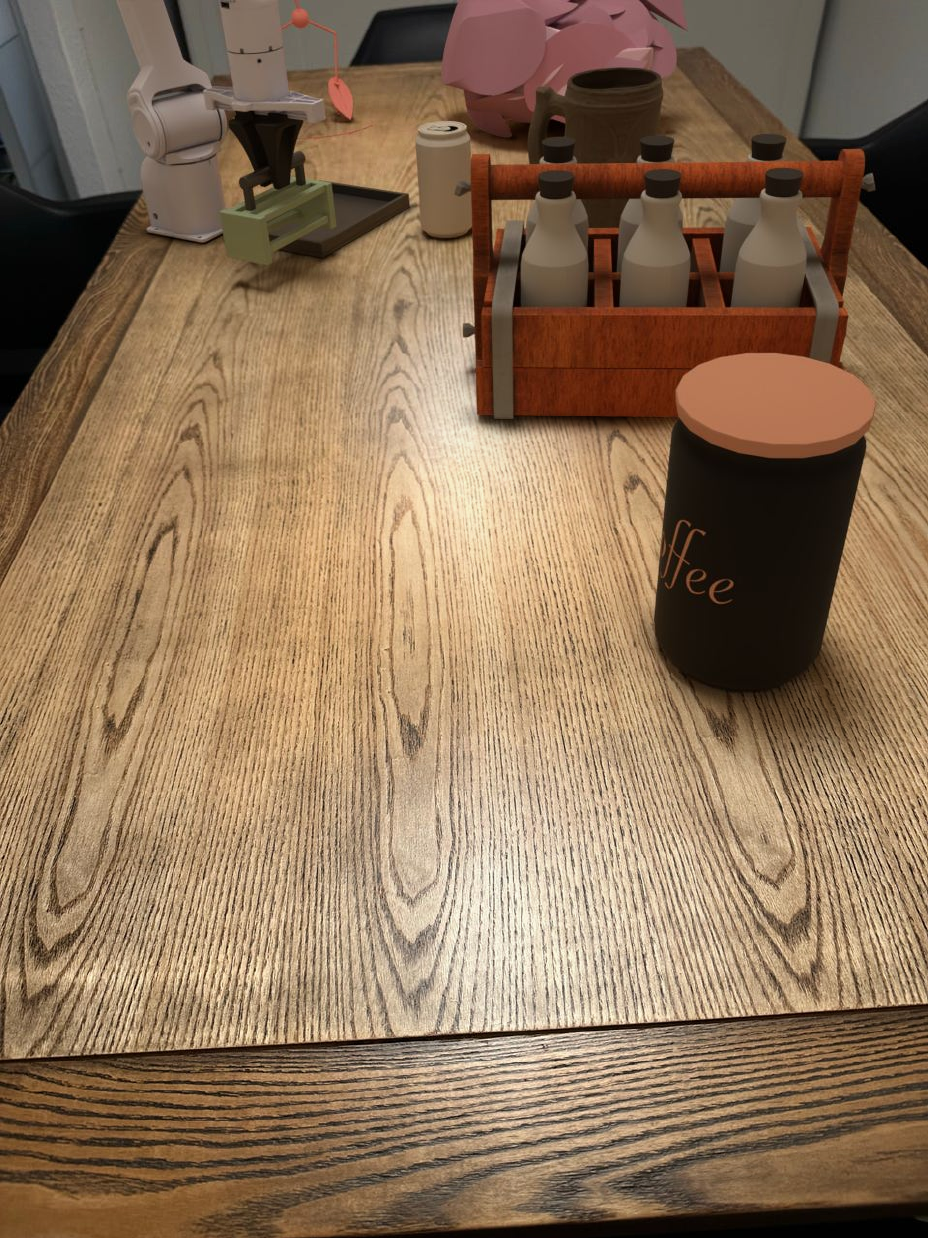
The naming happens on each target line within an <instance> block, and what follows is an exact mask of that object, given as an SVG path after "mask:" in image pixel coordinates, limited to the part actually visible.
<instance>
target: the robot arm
mask: <svg viewBox="0 0 928 1238" xmlns="http://www.w3.org/2000/svg"><path fill="white" fill-rule="evenodd" d="M218 3H219V11H220V15H221V22H222V28H223V34H224V40H225V46H226V53H227V60H228V67H229V71H230V73H229V74H230V78H231V85H232V86H217V85H213V86H212V83H211V81H210V78H209V75H208V74H207V73H206V72H205V71H204V70H201V69H200V68H199V67H197V66H195V65H193V64H192V63H190V62H188V61H186V60H185V59H184V58H183V55H182V52H181V48H180V46H179V43H178V40H177V37H176V34H175V30H174V28H173V25H172V23H171V20H170V16H169V13H168V9H167V8H166V7H167V6H166V5H165V1H164V0H116V4H117V7H118V10H119V12H120V15H121V18H122V21H123V24H124V27H125V30H126V32H127V35H128V39H129V41H130V44H131V47H132V49H133V53H134V54H135V58H136V61H137V64H138V66H139V73H138V74H137V76H136V78H135V79H134V81H133V82H132V84H131V86H130V87H129V89H128V91H127V94H126V103H127V105H128V108H129V113H130V117H131V126H132V132H133V135H134V137H135V139H136V142H137V144H138V145H139V148H140V149H141V150H142V152H143V153H144V154H145V155H146V156H145V158H144V159H143V161H142V163H141V167H140V184H141V189H142V192H143V196H144V202H145V207H146V210H147V215H148V220H149V224H150V226H148V227H146V232H147V233H150V234H155V235H160V236H166V237H170V238H174V239H181V240H186V241H192V242H197V243H201V244H202V243H207V242H208V241H211V240H212V239H214V238H216V237H219V236H220V235H223V230H222V224H221V219H220V213H219V212H220V211H222V210H224V209H227V204H226V199H225V194H224V189H223V182H222V177H221V176H222V175H221V171H220V166H219V160H218V155H217V153H219V152H221V151H222V146H221V144H222V143H223V142H224V141H225V139H226V136H227V130H228V128H229V130H230V132H231V133H232V134H233V135H234V136H235V137H236V139H237V141H238V142H239V144H240V145H241V147H242V148H243V150H244V152H245V154H246V156H247V158H248V160H249V162H250V164H251V166H252V169H253V172H254V171H256V170H258V169H260V168H262V167H265V166H267V165H269V170H270V176H271V179H270V180H268V181H266V182H264V183H262V184H260V185H259V187H261V188H267V187H269V186H270V185H272V187H274V189H278V190H279V189H282V188H284V187H286V186H288V185H290V177H292V175H291V174H292V169H291V167H292V159H293V153H295V148H296V144H297V142H298V139H297V138H299V134H300V132H301V129H302V127H303V124H304V121H306V122H307V124H313V125H316V124H317V123H320V122H322V121H325V120H326V119H327V117H326V107H325V100H324V98H319V97H318V98H317V97H314V96H310V95H306V94H303V93H299V92H297V91H293V90H290V88H289V87H290V86H289V80H288V71H287V64H286V55H285V48H284V40H283V33H282V32H283V30H281V27H282V25H281V17H280V10H279V8H280V7H279V1H278V0H218ZM179 92H182V93H179ZM174 93H179V94H174ZM168 94H174V95H169V96H166V97H161V96H164V95H168ZM156 97H161V98H157V99H153V98H156ZM226 111H230V112H231V111H232V112H234V118H232V119H229V120H227V119H228V118H227V115H226Z"/></svg>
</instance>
